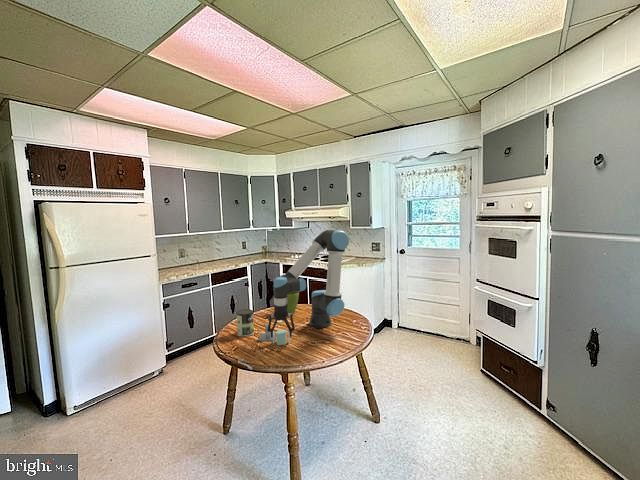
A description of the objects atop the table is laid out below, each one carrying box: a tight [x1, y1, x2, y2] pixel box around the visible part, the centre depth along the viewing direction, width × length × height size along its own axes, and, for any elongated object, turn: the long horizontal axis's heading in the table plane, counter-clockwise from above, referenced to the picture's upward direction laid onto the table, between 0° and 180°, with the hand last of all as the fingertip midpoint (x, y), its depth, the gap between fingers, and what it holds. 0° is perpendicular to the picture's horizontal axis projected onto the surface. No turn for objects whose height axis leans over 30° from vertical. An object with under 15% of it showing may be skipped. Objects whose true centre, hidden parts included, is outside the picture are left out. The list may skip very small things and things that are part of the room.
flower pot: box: [287, 292, 300, 315], centre depth 227 cm, size 15×15×16 cm
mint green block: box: [276, 329, 287, 346], centre depth 174 cm, size 5×5×7 cm
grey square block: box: [257, 323, 277, 342], centre depth 182 cm, size 10×10×8 cm
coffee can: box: [235, 308, 255, 337], centre depth 188 cm, size 10×10×14 cm
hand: (281, 342), depth 174 cm, fingers open, 8 cm apart
